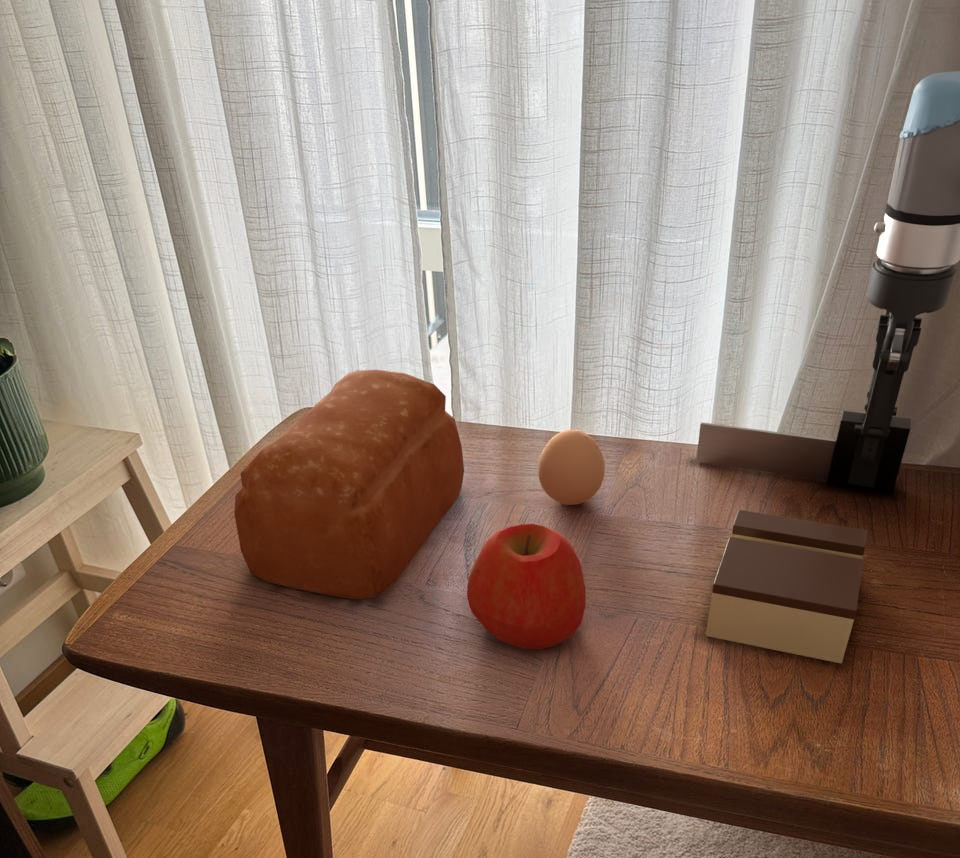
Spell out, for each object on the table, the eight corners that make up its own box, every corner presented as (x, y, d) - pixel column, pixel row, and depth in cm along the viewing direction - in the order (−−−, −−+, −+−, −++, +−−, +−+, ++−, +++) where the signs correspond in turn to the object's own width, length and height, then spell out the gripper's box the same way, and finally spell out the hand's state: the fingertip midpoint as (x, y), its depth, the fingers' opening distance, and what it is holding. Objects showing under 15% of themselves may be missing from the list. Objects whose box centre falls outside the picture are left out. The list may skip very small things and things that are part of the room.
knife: (893, 483, 103) (911, 418, 98) (892, 494, 102) (910, 428, 97) (698, 456, 110) (705, 394, 105) (694, 466, 109) (701, 403, 103)
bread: (235, 579, 95) (201, 450, 85) (343, 466, 112) (325, 349, 103) (384, 610, 90) (365, 477, 80) (473, 487, 107) (466, 366, 98)
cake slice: (853, 581, 90) (867, 530, 86) (851, 598, 88) (865, 547, 84) (730, 559, 94) (738, 509, 90) (725, 575, 92) (733, 525, 88)
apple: (457, 655, 84) (450, 560, 77) (488, 586, 92) (483, 494, 85) (573, 672, 82) (576, 575, 75) (594, 600, 90) (598, 506, 83)
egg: (553, 479, 108) (554, 412, 102) (612, 491, 105) (616, 423, 100) (527, 509, 103) (526, 441, 97) (588, 523, 100) (591, 453, 95)
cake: (849, 611, 87) (863, 559, 83) (841, 664, 81) (856, 610, 77) (721, 587, 90) (729, 536, 87) (705, 636, 85) (713, 584, 81)
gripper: (879, 235, 95) (833, 441, 110) (868, 285, 84) (819, 506, 99) (958, 239, 92) (900, 449, 107) (957, 292, 81) (893, 517, 96)
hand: (861, 476), depth 103 cm, fingers closed on knife, 2 cm apart
